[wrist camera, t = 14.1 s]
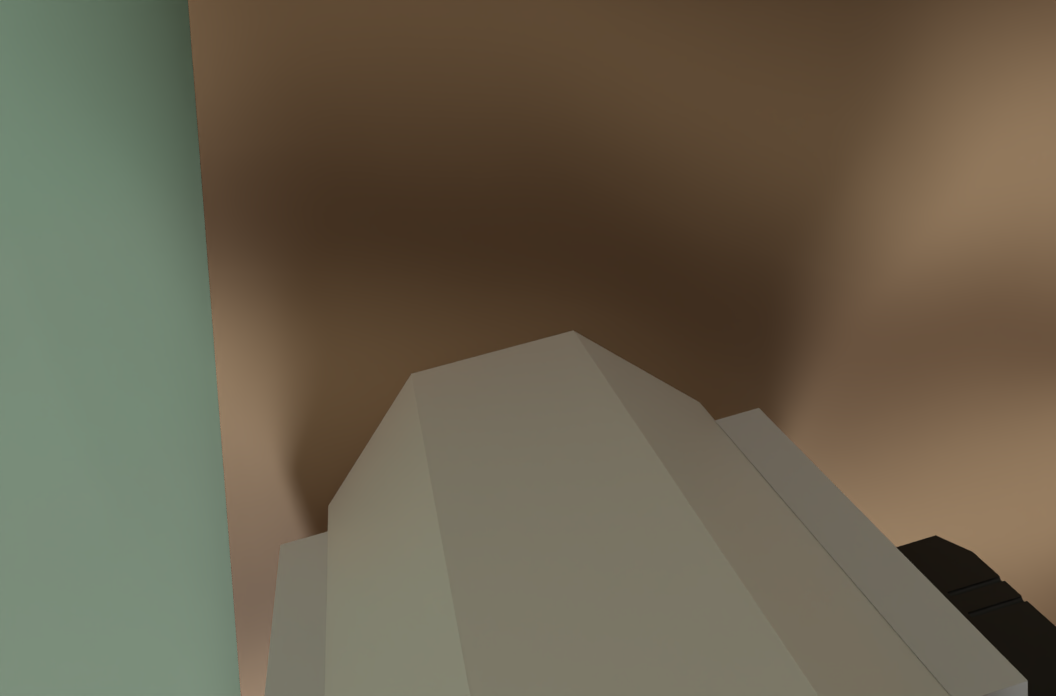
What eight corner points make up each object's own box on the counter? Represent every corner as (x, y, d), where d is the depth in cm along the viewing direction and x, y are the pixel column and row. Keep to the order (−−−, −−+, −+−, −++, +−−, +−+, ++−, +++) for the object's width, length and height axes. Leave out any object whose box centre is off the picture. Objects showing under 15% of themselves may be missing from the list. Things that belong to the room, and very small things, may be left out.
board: (146, -657, 10) (-42, -1277, 5) (1439, -438, 14) (2088, -686, 9) (256, 832, 18) (223, 1165, 13) (1067, 739, 22) (1294, 974, 16)
